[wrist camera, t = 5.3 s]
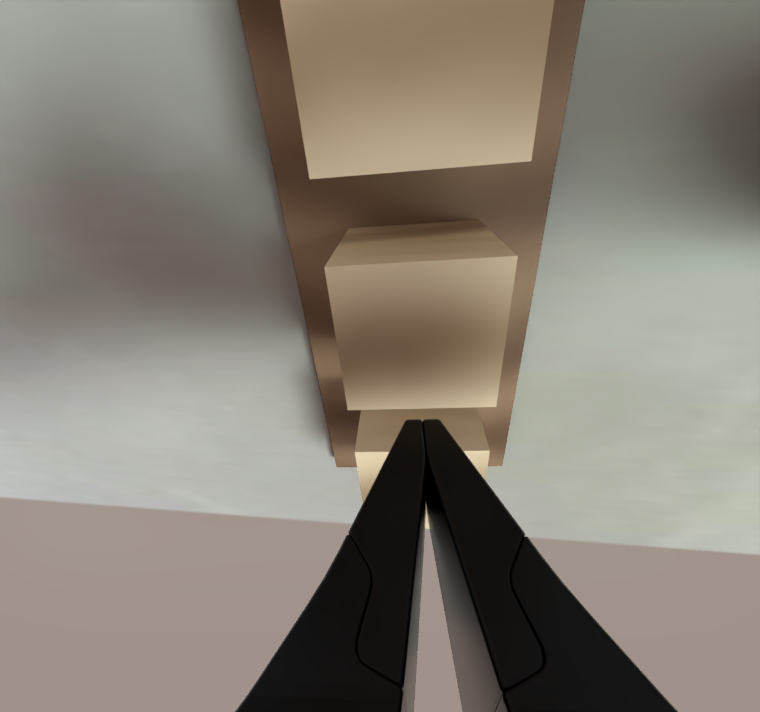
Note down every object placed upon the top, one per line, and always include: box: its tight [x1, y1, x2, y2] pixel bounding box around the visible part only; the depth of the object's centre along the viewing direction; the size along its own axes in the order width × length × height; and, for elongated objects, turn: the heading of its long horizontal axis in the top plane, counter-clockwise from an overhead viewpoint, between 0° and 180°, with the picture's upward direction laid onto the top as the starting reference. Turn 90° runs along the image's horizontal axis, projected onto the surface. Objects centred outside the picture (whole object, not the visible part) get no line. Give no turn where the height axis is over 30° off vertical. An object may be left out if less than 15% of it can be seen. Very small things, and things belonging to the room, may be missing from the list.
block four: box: [355, 407, 490, 529], centre depth 19 cm, size 6×6×6 cm
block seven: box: [280, 0, 554, 179], centre depth 10 cm, size 6×6×6 cm
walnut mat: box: [238, 0, 585, 467], centre depth 15 cm, size 36×12×1 cm, turn 4°
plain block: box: [324, 220, 518, 410], centre depth 14 cm, size 6×6×6 cm
